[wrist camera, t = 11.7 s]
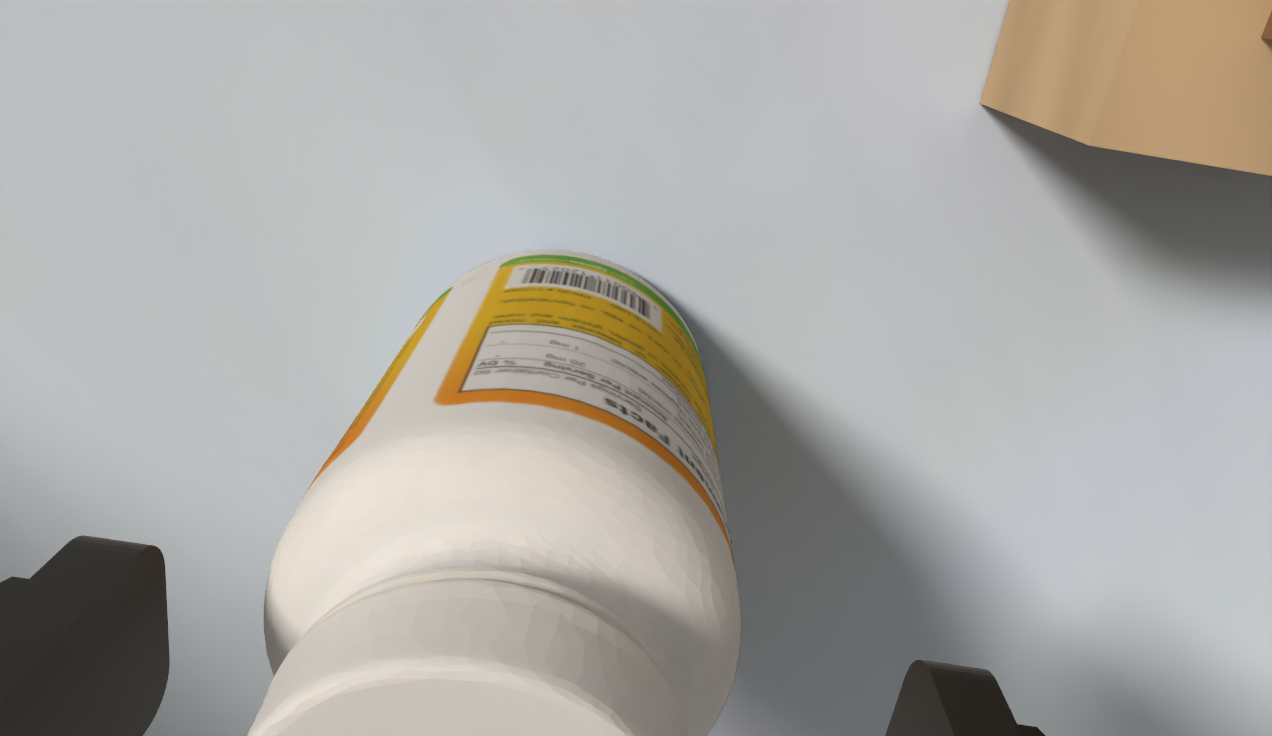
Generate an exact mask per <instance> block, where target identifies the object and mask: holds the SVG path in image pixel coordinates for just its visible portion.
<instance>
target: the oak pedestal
mask: <svg viewBox="0 0 1272 736" xmlns="http://www.w3.org/2000/svg"><path fill="white" fill-rule="evenodd" d="M1271 11H1272V0H1010V2H1009V6H1008V9H1007V13H1006V16H1005V19H1004V23H1003V26H1002V30H1001V33H1000V37H999V40H998V43H997V47H996V50H995V54H994V57H993V61H992V64H991V67H990V71H989V74H988V78H987V81H986V85H985V88H984V92H983V95H982V98H981V102H980V104H982V105H985V106H988V107H990V108H993V109H995V110H998V111H1001V112H1003V113H1006V114H1008V115H1011V116H1014V117H1016V118H1019V119H1021V120H1024V121H1027V122H1029V123H1032V124H1034V125H1037V126H1040V127H1042V128H1045V129H1047V130H1050V131H1053V132H1055V133H1058V134H1060V135H1063V136H1066V137H1068V138H1071V139H1073V140H1076V141H1079V142H1081V143H1084V144H1087V145H1089V146H1094V147H1100V148H1106V149H1112V150H1118V151H1124V152H1130V153H1137V154H1143V155H1149V156H1155V157H1161V158H1167V159H1173V160H1179V161H1185V162H1191V163H1197V164H1203V165H1209V166H1215V167H1221V168H1227V169H1233V170H1239V171H1245V172H1251V173H1257V174H1263V175H1269V176H1272V40H1268V39H1262V38H1261V36H1262V34H1263V31H1264V29H1265V26H1266V23H1267V21H1268V18H1269V16H1270V13H1271Z"/></svg>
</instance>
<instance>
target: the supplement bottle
mask: <svg viewBox="0 0 1272 736" xmlns="http://www.w3.org/2000/svg"><path fill="white" fill-rule="evenodd" d="M264 634H265V641H266V648H267V655H268V658H269V662H270V665H271V669H272V672H273V675H274V678H273V679H272V681H271V684H270V687H269V689H268V692H267V694H266V697H265V699H264V702H263V704H262V706H261V708H260V710H259V712H258V714H257V716H256V718H255V720H254V722H253V724H252V726H251V728H250V730H249V732H248V734H247V736H707V735H708V733H709V732H710V730H711V729H712V727H713V726H714V724H715V722H716V720H717V718H718V717H719V715H720V713H721V711H722V709H723V707H724V704H725V702H726V700H727V698H728V695H729V693H730V690H731V687H732V684H733V680H734V677H735V674H736V669H737V664H738V658H739V650H740V637H741V619H740V604H739V595H738V586H737V577H736V569H735V564H734V559H733V552H732V543H731V539H730V535H729V529H728V522H727V516H726V509H725V502H724V496H723V490H722V482H721V476H720V469H719V462H718V455H717V448H716V441H715V435H714V428H713V421H712V414H711V407H710V401H709V394H708V388H707V382H706V377H705V373H704V369H703V365H702V361H701V357H700V354H699V351H698V348H697V345H696V342H695V340H694V338H693V336H692V334H691V332H690V330H689V328H688V326H687V325H686V323H685V322H684V320H683V319H682V317H681V316H680V314H679V313H678V312H677V310H676V309H675V308H674V307H673V305H672V304H671V303H670V302H669V301H668V300H667V299H666V298H665V297H664V296H663V295H662V294H661V293H660V292H658V291H657V290H656V289H655V288H654V287H653V286H651V285H650V284H649V283H647V282H646V281H645V280H643V279H642V278H640V277H639V276H637V275H635V274H634V273H632V272H631V271H629V270H627V269H625V268H623V267H621V266H619V265H617V264H615V263H612V262H610V261H607V260H605V259H602V258H599V257H595V256H592V255H588V254H583V253H577V252H571V251H564V250H536V251H528V252H522V253H516V254H512V255H508V256H504V257H502V258H499V259H496V260H493V261H491V262H488V263H485V264H483V265H481V266H479V267H477V268H476V269H474V270H472V271H470V272H469V273H467V274H465V275H464V276H462V277H461V278H459V279H458V280H457V281H456V282H454V283H453V284H452V285H450V286H449V287H448V288H447V289H446V290H445V291H444V292H443V293H442V294H441V295H440V296H439V297H438V298H437V299H436V300H435V302H434V303H433V304H432V305H431V306H430V308H429V309H428V310H427V311H426V313H425V314H424V315H423V317H422V318H421V319H420V321H419V322H418V324H417V325H416V327H415V328H414V330H413V331H412V333H411V334H410V336H409V337H408V339H407V340H406V342H405V344H404V345H403V347H402V349H401V350H400V352H399V353H398V355H397V356H396V358H395V359H394V361H393V362H392V364H391V365H390V367H389V368H388V370H387V372H386V373H385V375H384V376H383V378H382V379H381V381H380V382H379V384H378V385H377V387H376V388H375V390H374V391H373V393H372V394H371V396H370V397H369V399H368V400H367V402H366V403H365V405H364V406H363V408H362V409H361V411H360V412H359V414H358V415H357V417H356V418H355V420H354V421H353V423H352V424H351V426H350V427H349V429H348V430H347V432H346V433H345V435H344V436H343V438H342V439H341V441H340V442H339V444H338V445H337V447H336V448H335V450H334V451H333V452H332V454H331V455H330V457H329V458H328V460H327V461H326V462H325V464H324V465H323V467H322V468H321V470H320V471H319V473H318V474H317V476H316V477H315V479H314V481H313V482H312V484H311V485H310V487H309V488H308V490H307V491H306V493H305V495H304V497H303V499H302V500H301V502H300V504H299V506H298V508H297V509H296V511H295V513H294V515H293V517H292V518H291V520H290V522H289V524H288V526H287V528H286V530H285V532H284V534H283V536H282V538H281V540H280V542H279V544H278V546H277V549H276V552H275V555H274V558H273V561H272V564H271V567H270V570H269V575H268V581H267V586H266V591H265V603H264Z"/></svg>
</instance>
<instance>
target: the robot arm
mask: <svg viewBox="0 0 1272 736" xmlns="http://www.w3.org/2000/svg"><path fill="white" fill-rule="evenodd" d="M168 674H169V640H168V619H167V598H166V578H165V562H164V558H163V554H162V552H161V550H160V549H159V548H158V547H156V546H152V545H145V544H138V543H131V542H125V541H118V540H111V539H104V538H97V537H90V536H79V537H76V538H74V539H73V540H71V541H70V542H69V543H67V544H66V545H65V546H64V547H63V548H62V549H61V550H60V551H59V552H58V553H57V554H56V555H55V556H53V557H52V558H51V559H50V560H49V561H48V562H47V563H46V564H45V565H44V566H43V567H42V568H41V569H40V570H39V571H37V572H36V573H35V574H34V575H33V576H32V577H31V578H30V579H25V578H18V577H11V578H9V579H7V580H5V581H3V582H1V583H0V736H143V734H144V733H145V731H146V730H147V728H148V727H149V725H150V724H151V722H152V721H153V719H154V717H155V715H156V713H157V711H158V708H159V706H160V703H161V701H162V698H163V695H164V692H165V688H166V684H167V680H168ZM886 736H1045V735H1044V734H1043V733H1042V732H1041V731H1040V730H1039V729H1038V728H1037V727H1032V726H1025V725H1018V724H1017V723H1016V721H1015V719H1014V717H1013V715H1012V713H1011V710H1010V708H1009V706H1008V704H1007V702H1006V700H1005V698H1004V696H1003V693H1002V691H1001V689H1000V687H999V685H998V683H997V681H996V679H995V677H994V676H993V675H992V674H991V672H989V671H988V670H984V669H978V668H971V667H965V666H958V665H951V664H944V663H937V662H930V661H924V660H916V661H915V662H913V663H912V664H911V666H910V667H909V669H908V671H907V673H906V676H905V679H904V682H903V685H902V688H901V691H900V694H899V697H898V700H897V703H896V706H895V709H894V712H893V715H892V718H891V721H890V724H889V727H888V730H887V733H886Z"/></svg>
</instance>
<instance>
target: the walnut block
mask: <svg viewBox="0 0 1272 736" xmlns="http://www.w3.org/2000/svg"><path fill="white" fill-rule="evenodd" d="M1261 38H1262V39H1268V40H1272V11H1271V13H1270V16H1269V18H1268V21H1267V23H1266V26H1265V29H1264V31H1263V34H1262V36H1261Z"/></svg>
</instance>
